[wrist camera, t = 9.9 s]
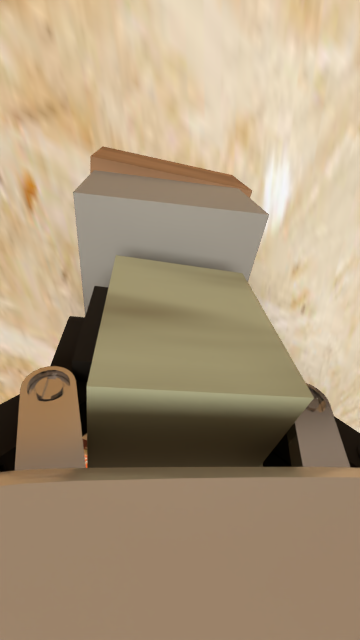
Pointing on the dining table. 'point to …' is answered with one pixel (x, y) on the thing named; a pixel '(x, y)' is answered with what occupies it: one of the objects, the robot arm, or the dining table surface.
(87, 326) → the robot arm
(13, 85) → the dining table surface
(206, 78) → the dining table surface
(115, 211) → the tower top
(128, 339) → the sage block
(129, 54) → the dining table surface
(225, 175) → the tower base
